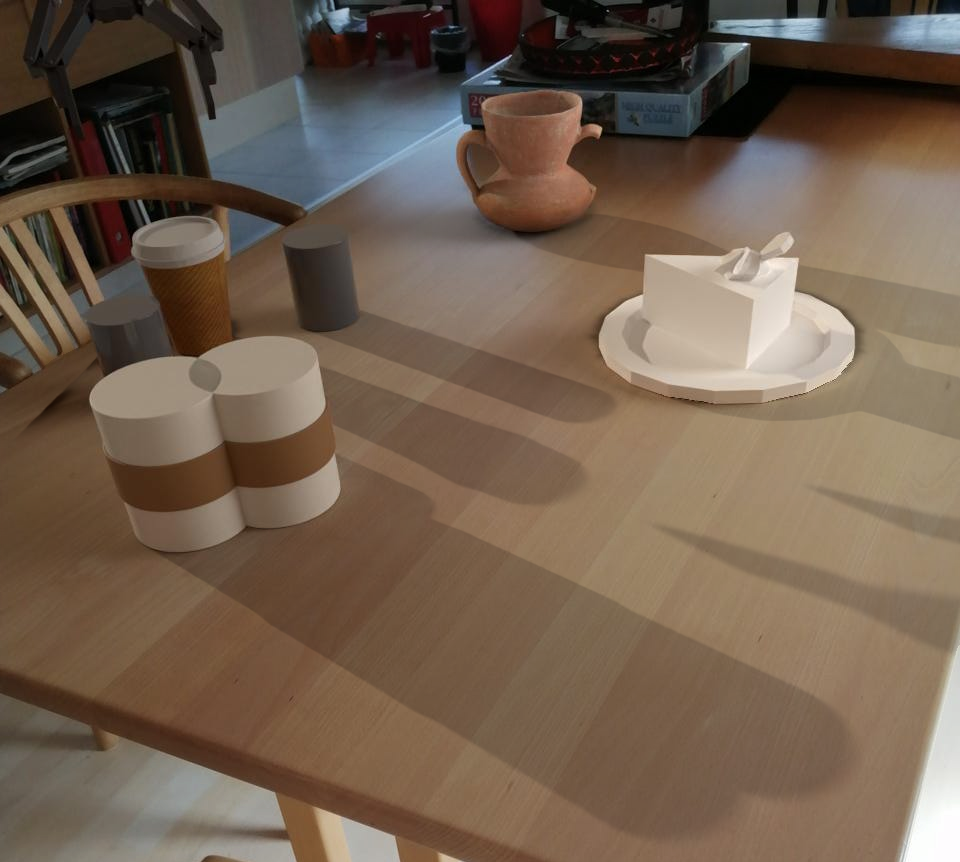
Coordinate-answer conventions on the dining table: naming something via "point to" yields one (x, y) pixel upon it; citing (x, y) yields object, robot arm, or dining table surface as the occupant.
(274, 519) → the white banded double cylinder
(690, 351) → the white wedge on plate
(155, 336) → the grey tumblers
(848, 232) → the dining table surface
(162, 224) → the disposable coffee cup
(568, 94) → the ceramic jug
